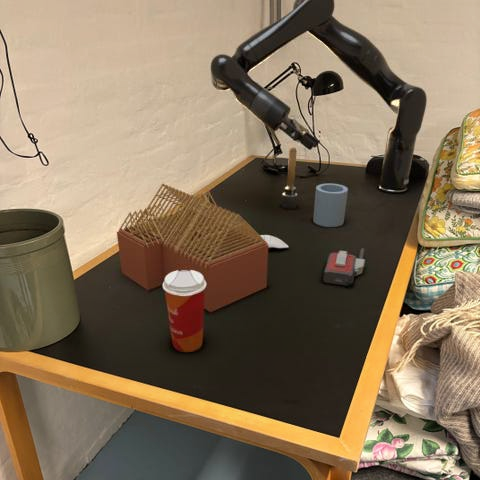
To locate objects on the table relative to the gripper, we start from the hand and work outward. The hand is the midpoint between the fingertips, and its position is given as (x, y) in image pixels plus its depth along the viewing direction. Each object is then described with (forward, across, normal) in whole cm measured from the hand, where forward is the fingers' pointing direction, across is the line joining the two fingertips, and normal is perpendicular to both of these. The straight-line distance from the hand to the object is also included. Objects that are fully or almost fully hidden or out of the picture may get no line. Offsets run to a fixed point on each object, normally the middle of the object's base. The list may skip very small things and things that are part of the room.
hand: (315, 146), depth 140 cm
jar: (+16, +2, +15) cm, 22 cm away
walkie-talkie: (+26, -28, +14) cm, 40 cm away
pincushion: (+7, -21, +25) cm, 34 cm away
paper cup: (+8, -68, +33) cm, 76 cm away
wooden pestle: (+4, +11, +21) cm, 24 cm away
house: (-1, -43, +34) cm, 55 cm away
